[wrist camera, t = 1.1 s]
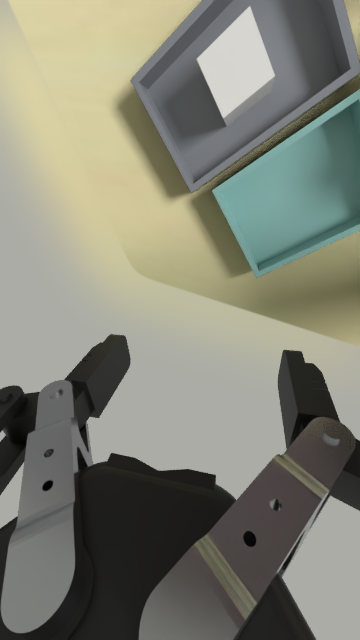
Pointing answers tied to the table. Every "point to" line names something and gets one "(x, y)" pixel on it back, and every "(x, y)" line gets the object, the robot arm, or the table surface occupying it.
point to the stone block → (237, 68)
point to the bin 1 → (268, 113)
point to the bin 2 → (298, 191)
